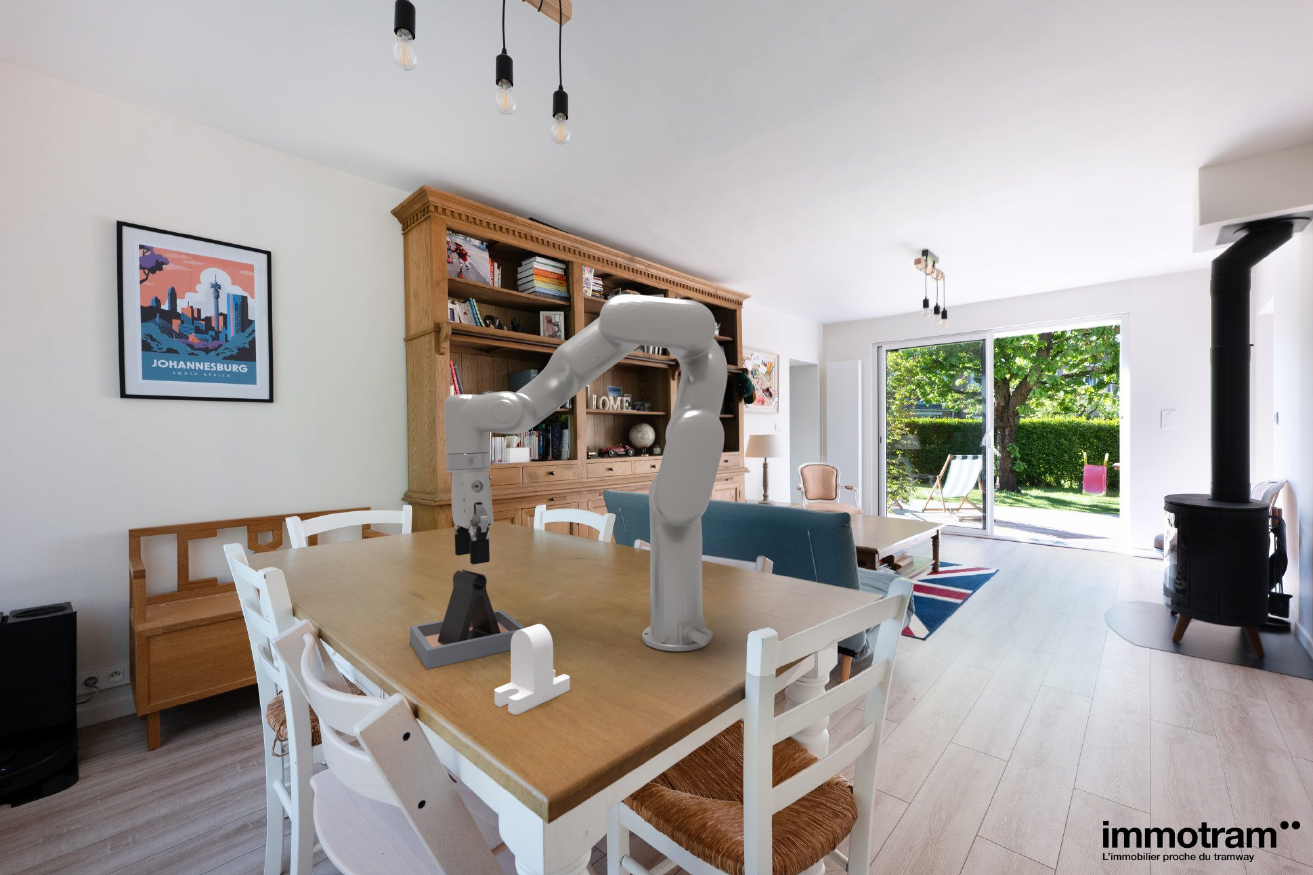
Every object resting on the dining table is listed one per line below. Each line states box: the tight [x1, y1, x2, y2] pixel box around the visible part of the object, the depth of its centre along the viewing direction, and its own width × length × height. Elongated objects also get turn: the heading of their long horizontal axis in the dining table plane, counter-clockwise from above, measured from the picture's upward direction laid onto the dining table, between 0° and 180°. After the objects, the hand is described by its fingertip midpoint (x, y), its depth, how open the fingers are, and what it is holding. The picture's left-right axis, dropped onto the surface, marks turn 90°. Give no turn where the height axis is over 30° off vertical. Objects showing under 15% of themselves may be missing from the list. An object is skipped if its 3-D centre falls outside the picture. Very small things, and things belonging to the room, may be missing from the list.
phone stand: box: [438, 569, 501, 645], centre depth 99 cm, size 9×6×12 cm, turn 142°
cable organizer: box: [493, 623, 571, 716], centre depth 79 cm, size 5×10×10 cm, turn 140°
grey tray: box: [409, 609, 527, 670], centre depth 99 cm, size 14×17×3 cm
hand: (471, 558), depth 99 cm, fingers open, 9 cm apart
